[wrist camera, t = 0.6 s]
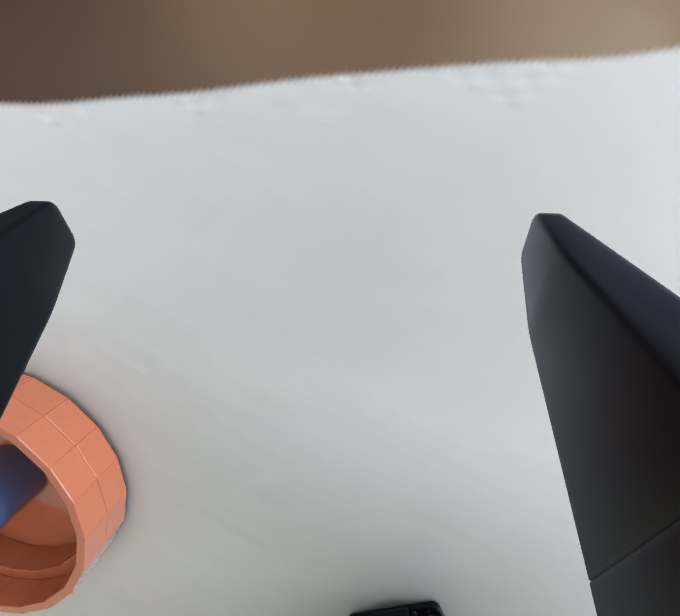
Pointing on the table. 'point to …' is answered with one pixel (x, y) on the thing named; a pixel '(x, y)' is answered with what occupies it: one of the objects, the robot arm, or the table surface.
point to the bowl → (57, 499)
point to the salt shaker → (17, 482)
